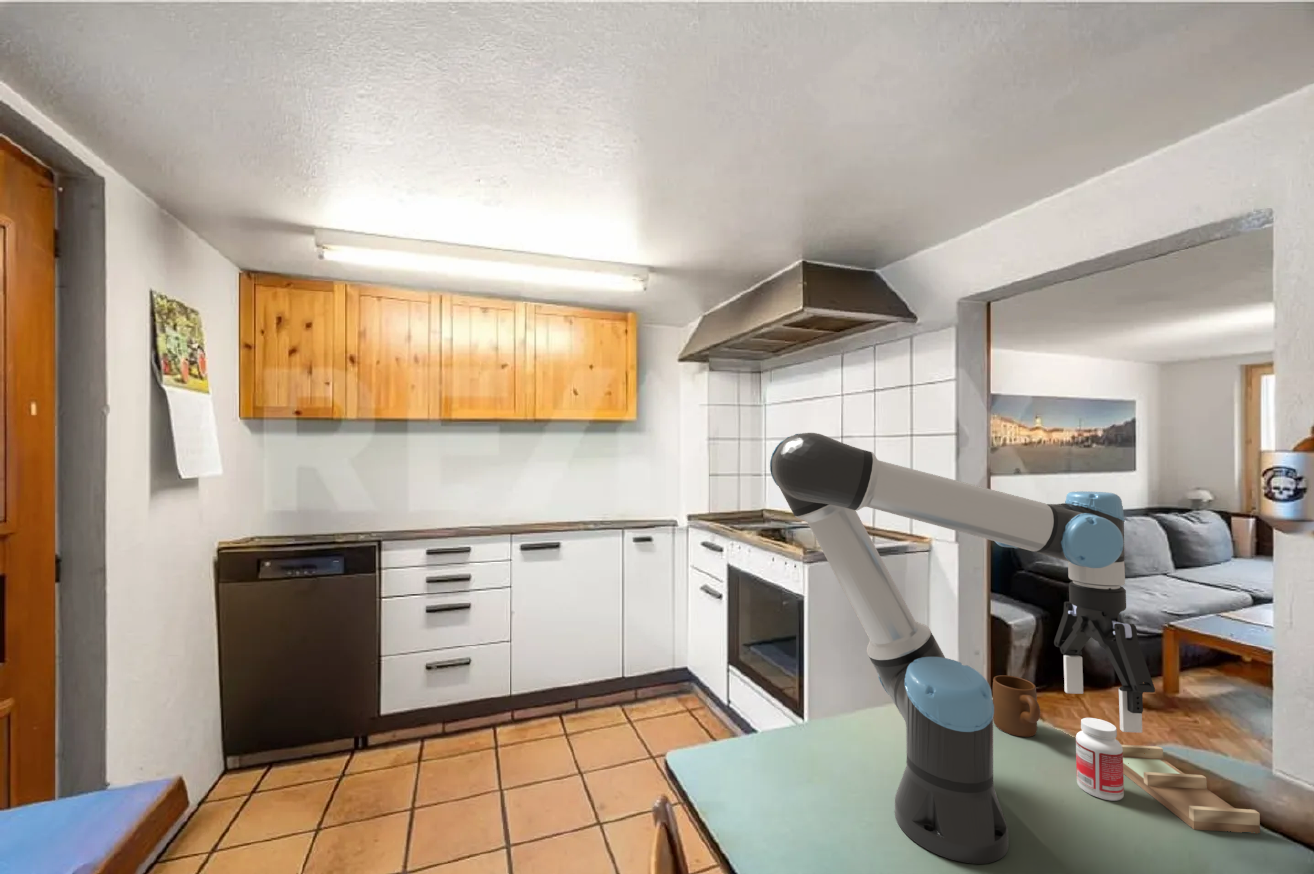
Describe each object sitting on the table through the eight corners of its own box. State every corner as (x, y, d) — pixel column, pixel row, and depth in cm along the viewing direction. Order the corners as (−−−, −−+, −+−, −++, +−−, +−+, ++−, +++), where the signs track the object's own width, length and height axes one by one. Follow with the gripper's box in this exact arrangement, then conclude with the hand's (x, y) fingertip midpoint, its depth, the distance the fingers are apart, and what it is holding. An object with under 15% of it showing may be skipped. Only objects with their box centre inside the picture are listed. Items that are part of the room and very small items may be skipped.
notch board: (1193, 829, 83) (1193, 809, 83) (1106, 760, 101) (1106, 743, 101) (1259, 833, 82) (1259, 813, 82) (1159, 763, 100) (1159, 746, 100)
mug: (1059, 751, 104) (1058, 701, 104) (1016, 749, 105) (1016, 699, 105) (1024, 720, 116) (1023, 675, 116) (986, 718, 117) (985, 673, 117)
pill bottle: (1126, 790, 92) (1124, 724, 92) (1121, 807, 88) (1120, 737, 88) (1079, 775, 96) (1078, 711, 97) (1073, 790, 92) (1072, 723, 92)
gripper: (1183, 604, 80) (1188, 752, 79) (1072, 567, 105) (1075, 680, 104) (1128, 603, 81) (1132, 749, 80) (1030, 567, 105) (1033, 678, 105)
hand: (1100, 710), depth 92 cm, fingers open, 13 cm apart
